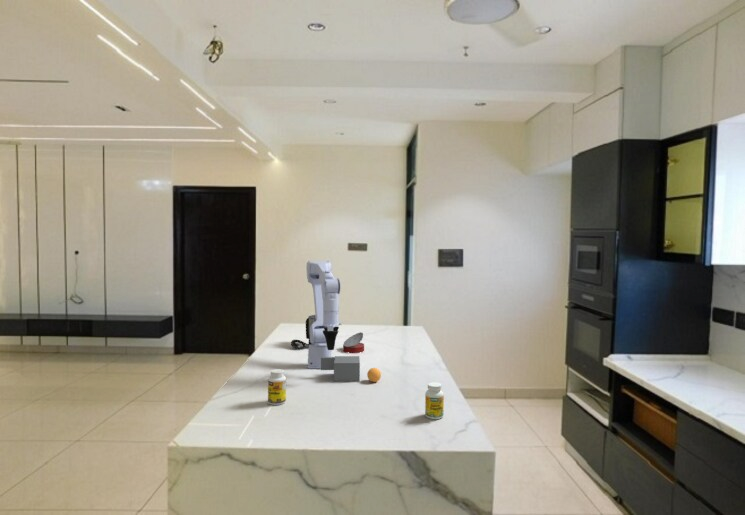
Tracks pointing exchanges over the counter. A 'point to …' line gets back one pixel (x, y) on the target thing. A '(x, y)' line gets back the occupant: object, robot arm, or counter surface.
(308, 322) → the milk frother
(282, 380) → the supplement bottle
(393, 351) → the counter surface
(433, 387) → the supplement bottle
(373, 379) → the ball
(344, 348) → the canned food
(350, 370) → the grey blocky piece
